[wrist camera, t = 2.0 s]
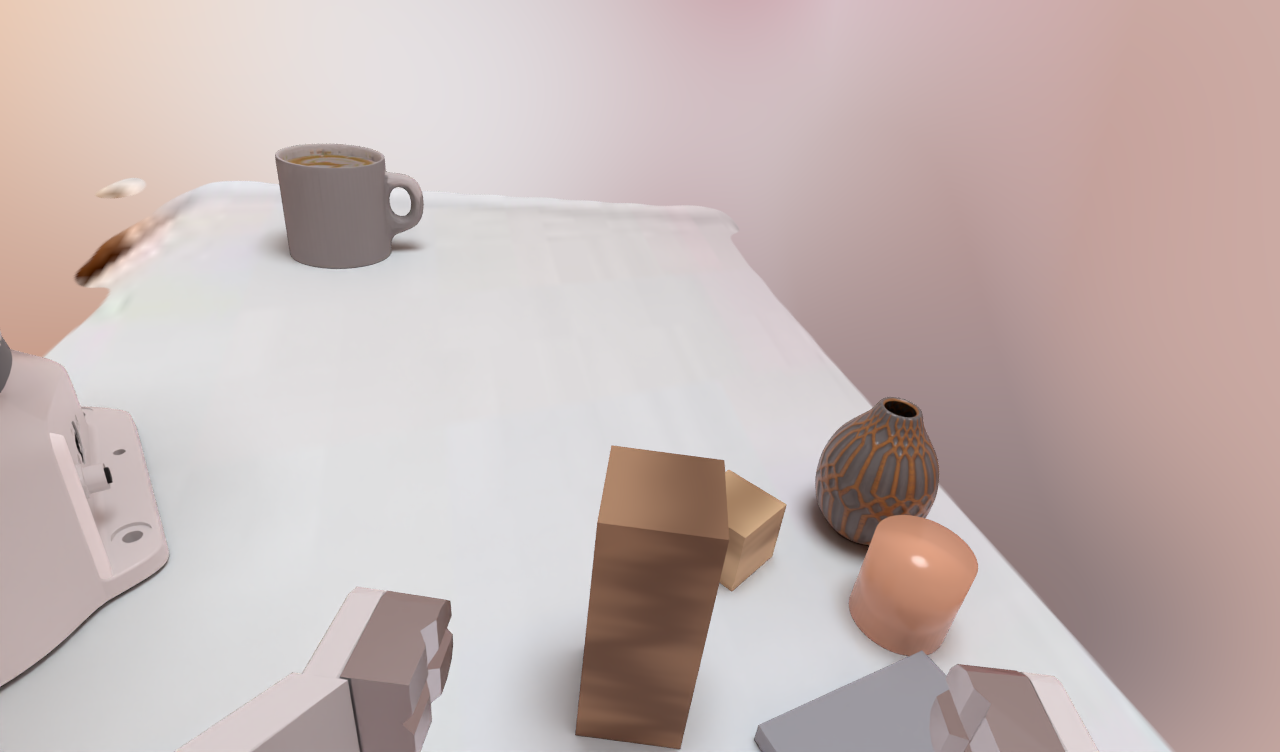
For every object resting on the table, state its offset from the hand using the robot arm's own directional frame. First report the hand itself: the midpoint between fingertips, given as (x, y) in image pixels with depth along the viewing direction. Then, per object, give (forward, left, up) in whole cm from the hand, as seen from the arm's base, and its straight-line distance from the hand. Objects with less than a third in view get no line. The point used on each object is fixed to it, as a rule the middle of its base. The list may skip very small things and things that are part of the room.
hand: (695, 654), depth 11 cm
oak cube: (-17, +15, -19) cm, 29 cm away
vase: (-16, +25, -19) cm, 35 cm away
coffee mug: (-69, +2, -19) cm, 71 cm away
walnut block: (-11, +6, -18) cm, 22 cm away
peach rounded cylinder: (-9, +22, -19) cm, 30 cm away
